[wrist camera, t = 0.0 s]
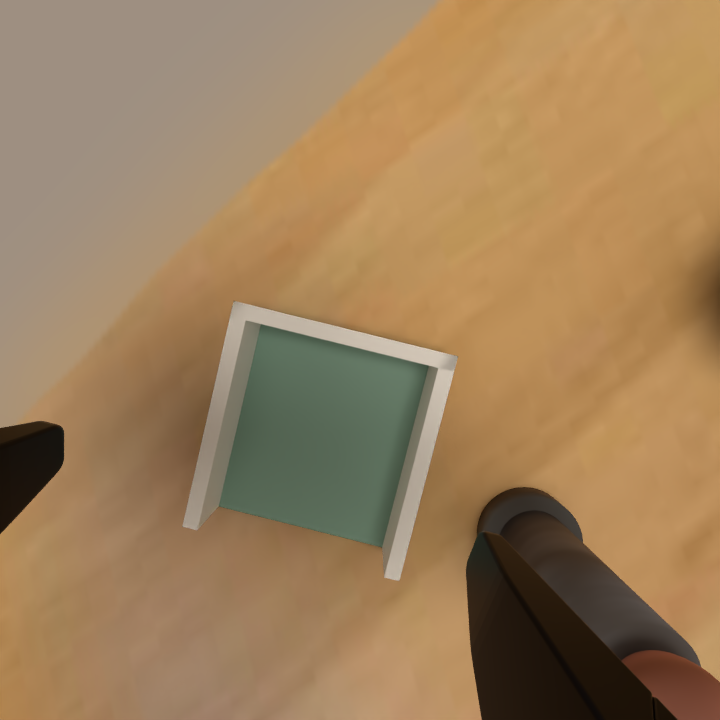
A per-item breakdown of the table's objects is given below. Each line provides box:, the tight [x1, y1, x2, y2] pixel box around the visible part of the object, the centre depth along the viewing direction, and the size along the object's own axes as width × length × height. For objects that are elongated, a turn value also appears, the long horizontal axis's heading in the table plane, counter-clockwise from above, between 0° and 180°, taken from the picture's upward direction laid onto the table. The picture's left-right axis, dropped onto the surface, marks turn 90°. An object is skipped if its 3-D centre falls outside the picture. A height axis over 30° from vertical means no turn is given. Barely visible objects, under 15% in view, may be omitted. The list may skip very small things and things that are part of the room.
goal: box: [182, 301, 458, 581], centre depth 22 cm, size 12×12×4 cm
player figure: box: [477, 487, 720, 720], centre depth 17 cm, size 6×6×14 cm
